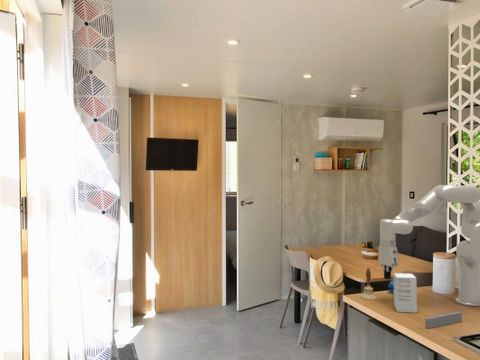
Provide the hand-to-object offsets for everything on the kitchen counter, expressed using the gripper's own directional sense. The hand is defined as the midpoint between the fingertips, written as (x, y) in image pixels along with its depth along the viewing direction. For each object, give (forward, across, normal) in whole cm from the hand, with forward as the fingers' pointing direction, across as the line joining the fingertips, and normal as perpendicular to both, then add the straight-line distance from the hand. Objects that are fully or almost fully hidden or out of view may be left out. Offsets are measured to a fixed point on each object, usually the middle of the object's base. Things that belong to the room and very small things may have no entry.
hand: (387, 278), depth 206 cm
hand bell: (+13, +12, +2) cm, 18 cm away
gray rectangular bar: (+12, -34, -1) cm, 36 cm away
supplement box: (+13, -11, -1) cm, 17 cm away
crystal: (+13, +11, -18) cm, 24 cm away
